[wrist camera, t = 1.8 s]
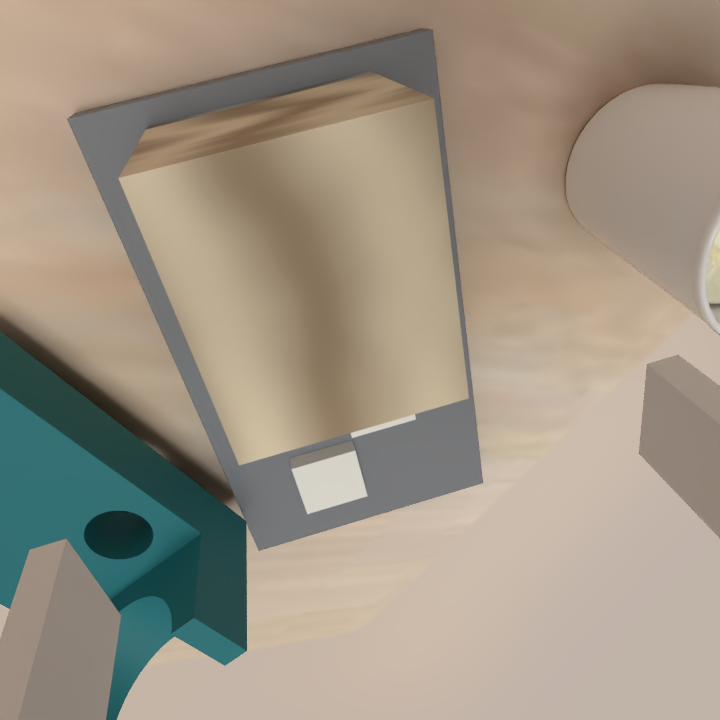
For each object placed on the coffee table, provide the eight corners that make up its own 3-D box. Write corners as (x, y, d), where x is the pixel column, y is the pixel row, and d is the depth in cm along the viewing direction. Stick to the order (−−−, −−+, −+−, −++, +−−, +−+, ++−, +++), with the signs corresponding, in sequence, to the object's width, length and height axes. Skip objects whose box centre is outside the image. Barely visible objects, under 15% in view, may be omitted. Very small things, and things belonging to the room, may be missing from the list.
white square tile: (352, 440, 36) (355, 450, 36) (364, 485, 39) (367, 496, 38) (289, 458, 36) (291, 469, 35) (305, 503, 38) (307, 514, 37)
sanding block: (370, 71, 26) (434, 98, 18) (410, 306, 32) (469, 398, 25) (147, 126, 25) (118, 178, 18) (233, 355, 32) (239, 465, 24)
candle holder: (519, 222, 33) (652, 318, 23) (612, 35, 29) (824, 51, 19) (649, 268, 36) (815, 369, 26) (749, 106, 32) (991, 152, 22)
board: (422, 28, 27) (432, 29, 26) (475, 468, 42) (483, 482, 41) (74, 113, 26) (67, 119, 24) (257, 534, 41) (258, 550, 40)
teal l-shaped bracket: (246, 505, 38) (246, 650, 29) (125, 593, 40) (90, 756, 31) (1, 312, 30) (-106, 432, 20) (-138, 435, 31) (-294, 595, 22)
